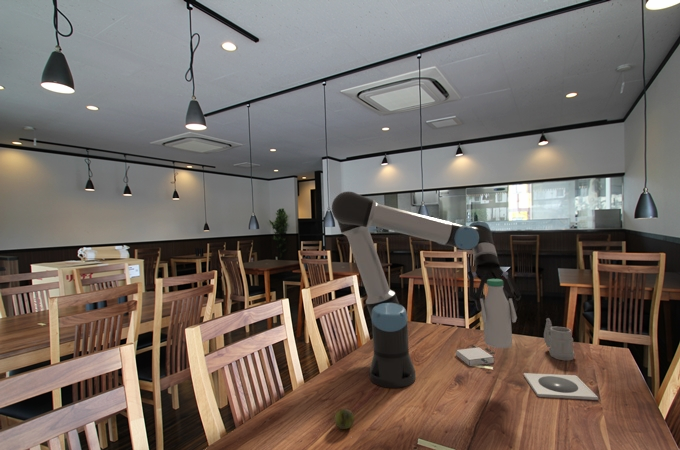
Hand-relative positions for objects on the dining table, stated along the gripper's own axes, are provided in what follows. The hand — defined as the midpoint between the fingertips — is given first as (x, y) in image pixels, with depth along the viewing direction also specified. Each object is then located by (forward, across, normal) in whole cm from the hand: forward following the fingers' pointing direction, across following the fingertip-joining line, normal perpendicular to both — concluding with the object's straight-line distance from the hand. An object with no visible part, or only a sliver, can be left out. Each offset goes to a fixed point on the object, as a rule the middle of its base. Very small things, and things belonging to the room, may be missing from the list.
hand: (499, 319), depth 101 cm
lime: (+32, +43, +3) cm, 54 cm away
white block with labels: (0, +4, -31) cm, 31 cm away
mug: (-5, -25, -35) cm, 43 cm away
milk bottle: (+4, 0, -9) cm, 9 cm away
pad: (+13, -16, -17) cm, 26 cm away
